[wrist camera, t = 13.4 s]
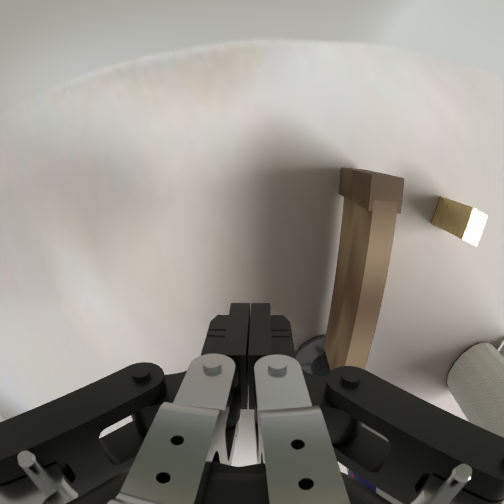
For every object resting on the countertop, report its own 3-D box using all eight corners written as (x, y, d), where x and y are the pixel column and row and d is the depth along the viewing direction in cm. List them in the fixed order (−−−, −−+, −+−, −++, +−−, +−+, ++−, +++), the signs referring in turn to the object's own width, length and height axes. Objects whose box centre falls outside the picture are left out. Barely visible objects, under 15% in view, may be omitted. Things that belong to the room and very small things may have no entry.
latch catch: (445, 229, 19) (476, 246, 15) (431, 223, 19) (462, 239, 15) (454, 203, 18) (487, 216, 15) (440, 196, 18) (473, 207, 15)
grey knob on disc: (340, 389, 23) (358, 453, 17) (283, 378, 23) (288, 447, 16) (367, 341, 22) (397, 404, 15) (307, 327, 22) (323, 395, 15)
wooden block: (341, 343, 21) (360, 394, 16) (320, 343, 21) (334, 395, 16) (365, 170, 18) (404, 178, 12) (340, 167, 18) (371, 174, 12)
